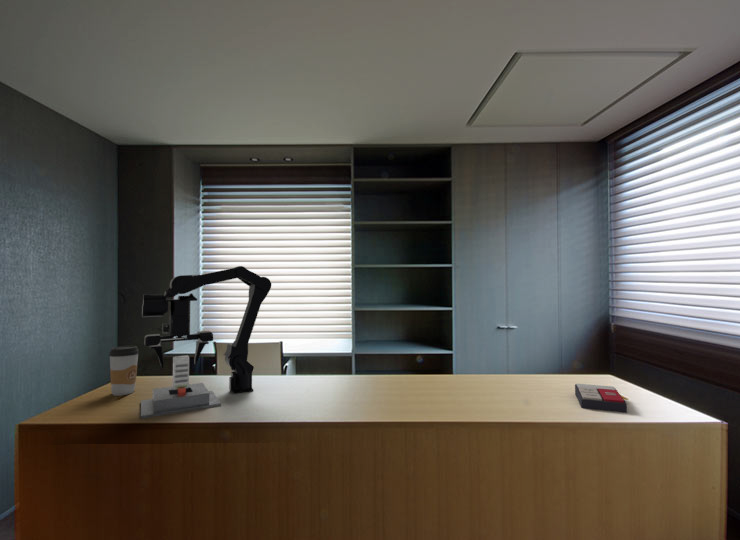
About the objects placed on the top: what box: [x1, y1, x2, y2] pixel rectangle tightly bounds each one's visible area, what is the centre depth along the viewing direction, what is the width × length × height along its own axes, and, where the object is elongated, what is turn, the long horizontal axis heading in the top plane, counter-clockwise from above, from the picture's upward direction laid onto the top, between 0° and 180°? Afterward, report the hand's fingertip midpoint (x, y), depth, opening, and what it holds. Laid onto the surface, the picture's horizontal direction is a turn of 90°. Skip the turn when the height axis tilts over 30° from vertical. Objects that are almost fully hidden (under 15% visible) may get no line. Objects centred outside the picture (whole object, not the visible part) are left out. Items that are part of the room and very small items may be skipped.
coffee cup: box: [108, 345, 140, 397], centre depth 123 cm, size 8×8×15 cm
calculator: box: [574, 383, 628, 414], centre depth 110 cm, size 11×4×15 cm
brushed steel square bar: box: [172, 355, 190, 390], centre depth 111 cm, size 4×4×9 cm
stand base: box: [140, 382, 222, 420], centre depth 111 cm, size 20×16×6 cm
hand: (179, 365), depth 116 cm, fingers open, 9 cm apart
